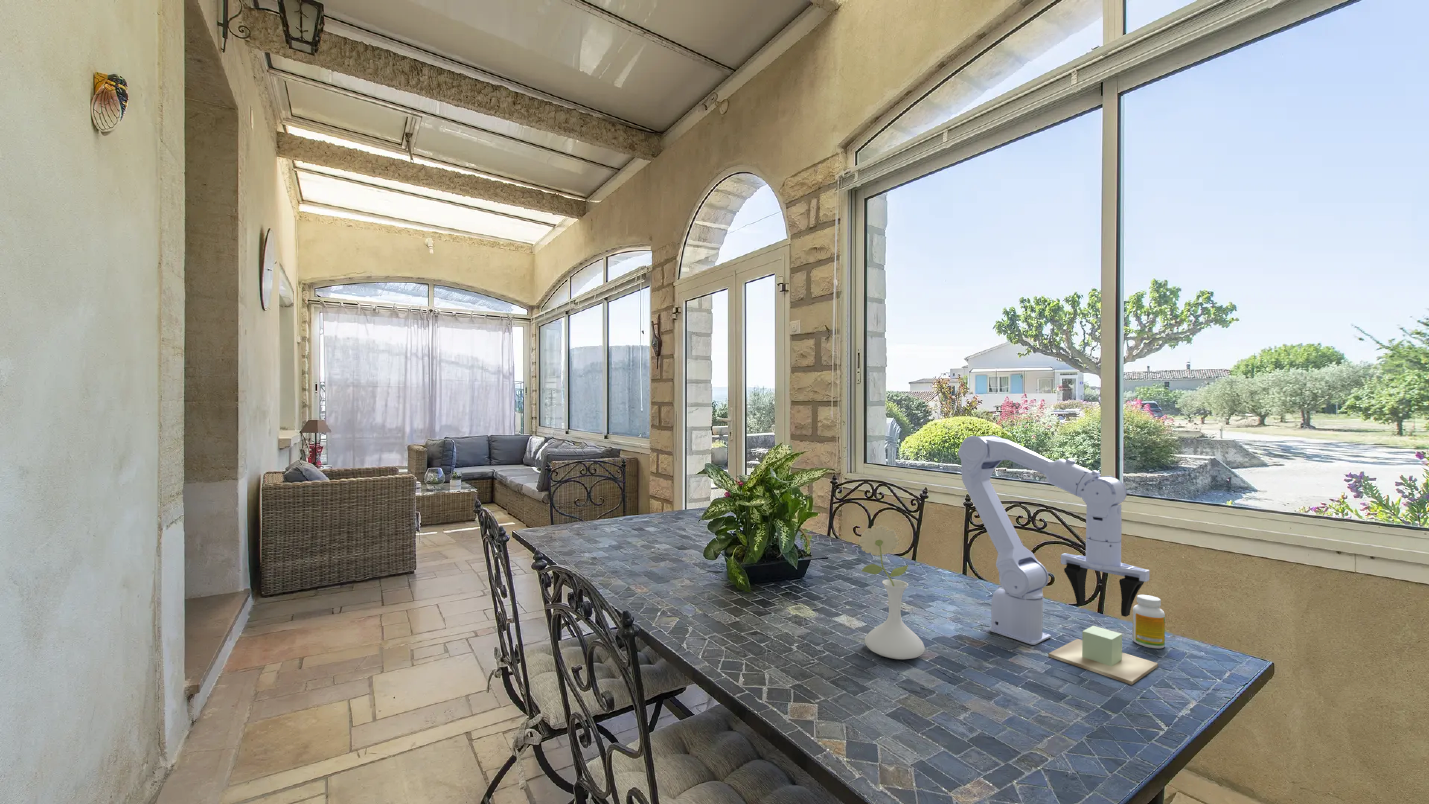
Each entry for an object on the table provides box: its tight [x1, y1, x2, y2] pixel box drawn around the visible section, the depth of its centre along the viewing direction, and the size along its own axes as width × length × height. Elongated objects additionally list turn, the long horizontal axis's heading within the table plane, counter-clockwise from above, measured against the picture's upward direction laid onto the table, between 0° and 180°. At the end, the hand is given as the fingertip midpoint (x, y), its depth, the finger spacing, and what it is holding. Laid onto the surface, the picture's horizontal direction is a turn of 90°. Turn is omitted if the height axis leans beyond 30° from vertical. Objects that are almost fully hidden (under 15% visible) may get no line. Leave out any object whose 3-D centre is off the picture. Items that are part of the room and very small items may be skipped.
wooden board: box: [1048, 638, 1159, 686], centre depth 111 cm, size 14×13×1 cm
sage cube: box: [1081, 625, 1123, 666], centre depth 111 cm, size 5×5×5 cm
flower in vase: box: [858, 524, 926, 660], centre depth 114 cm, size 13×11×25 cm
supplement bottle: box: [1132, 594, 1166, 649], centre depth 120 cm, size 5×5×10 cm
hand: (1102, 609), depth 111 cm, fingers open, 7 cm apart
